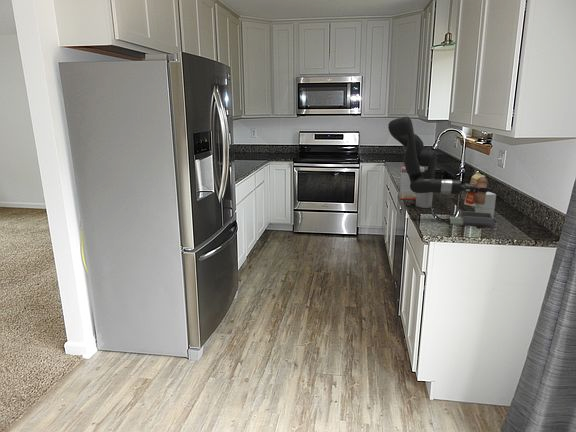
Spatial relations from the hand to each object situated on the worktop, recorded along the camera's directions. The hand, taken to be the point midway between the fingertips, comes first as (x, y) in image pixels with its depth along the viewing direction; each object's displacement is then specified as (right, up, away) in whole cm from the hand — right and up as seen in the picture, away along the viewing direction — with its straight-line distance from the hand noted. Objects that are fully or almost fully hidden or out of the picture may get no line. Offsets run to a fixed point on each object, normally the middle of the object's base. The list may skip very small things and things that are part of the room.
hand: (486, 189), depth 206 cm
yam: (-3, -7, +3) cm, 8 cm away
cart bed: (-5, -17, +6) cm, 19 cm away
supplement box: (+9, -13, +21) cm, 27 cm away
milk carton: (+16, -7, +47) cm, 50 cm away
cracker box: (-19, -2, +63) cm, 66 cm away
